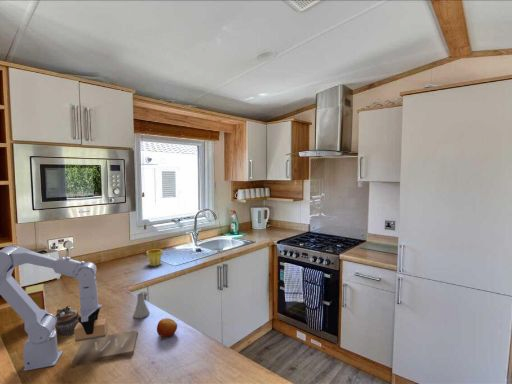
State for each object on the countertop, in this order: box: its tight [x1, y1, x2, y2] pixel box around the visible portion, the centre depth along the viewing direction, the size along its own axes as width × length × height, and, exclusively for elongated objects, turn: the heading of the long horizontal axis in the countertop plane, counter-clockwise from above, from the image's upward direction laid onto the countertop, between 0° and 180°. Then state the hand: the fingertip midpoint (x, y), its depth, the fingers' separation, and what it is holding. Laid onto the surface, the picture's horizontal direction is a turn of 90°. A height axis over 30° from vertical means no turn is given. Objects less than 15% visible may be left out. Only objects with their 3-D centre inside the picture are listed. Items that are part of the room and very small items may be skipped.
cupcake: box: [54, 305, 81, 337], centre depth 124 cm, size 10×10×10 cm
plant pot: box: [146, 248, 163, 267], centre depth 204 cm, size 10×10×10 cm
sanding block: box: [73, 317, 109, 343], centre depth 109 cm, size 10×4×5 cm, turn 106°
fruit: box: [156, 317, 178, 342], centre depth 119 cm, size 8×8×8 cm
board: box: [71, 329, 139, 367], centre depth 111 cm, size 20×14×2 cm
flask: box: [133, 292, 150, 319], centre depth 136 cm, size 7×7×10 cm
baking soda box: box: [24, 283, 47, 311], centre depth 131 cm, size 10×6×16 cm
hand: (91, 330), depth 109 cm, fingers closed on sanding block, 4 cm apart
